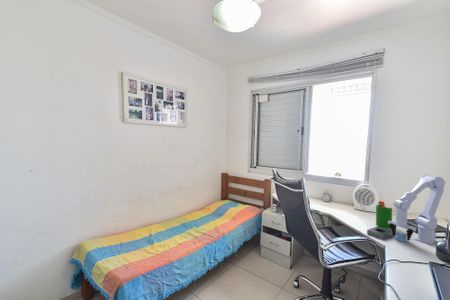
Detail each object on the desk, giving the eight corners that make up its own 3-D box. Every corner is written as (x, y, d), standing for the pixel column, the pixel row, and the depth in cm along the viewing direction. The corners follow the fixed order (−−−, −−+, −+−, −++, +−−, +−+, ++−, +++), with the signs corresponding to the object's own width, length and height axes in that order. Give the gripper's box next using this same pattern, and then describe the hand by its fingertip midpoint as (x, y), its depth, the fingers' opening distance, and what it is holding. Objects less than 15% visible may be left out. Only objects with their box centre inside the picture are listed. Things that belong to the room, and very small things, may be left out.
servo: (400, 238, 137) (400, 229, 137) (407, 240, 134) (407, 231, 133) (395, 240, 134) (395, 231, 134) (402, 242, 131) (402, 233, 130)
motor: (394, 227, 154) (394, 202, 154) (387, 229, 151) (387, 203, 151) (380, 222, 164) (380, 198, 164) (373, 224, 161) (373, 200, 160)
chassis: (377, 230, 150) (377, 226, 150) (393, 235, 141) (393, 231, 141) (367, 233, 144) (367, 229, 143) (383, 239, 135) (383, 235, 135)
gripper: (385, 215, 138) (385, 234, 138) (412, 222, 125) (412, 243, 125) (390, 213, 141) (390, 232, 142) (417, 220, 128) (417, 241, 129)
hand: (401, 237), depth 134 cm, fingers open, 7 cm apart
